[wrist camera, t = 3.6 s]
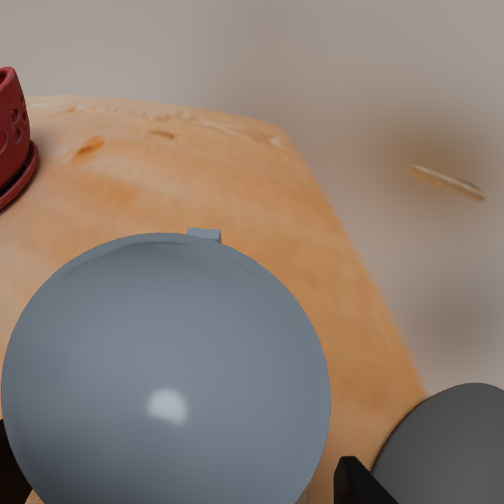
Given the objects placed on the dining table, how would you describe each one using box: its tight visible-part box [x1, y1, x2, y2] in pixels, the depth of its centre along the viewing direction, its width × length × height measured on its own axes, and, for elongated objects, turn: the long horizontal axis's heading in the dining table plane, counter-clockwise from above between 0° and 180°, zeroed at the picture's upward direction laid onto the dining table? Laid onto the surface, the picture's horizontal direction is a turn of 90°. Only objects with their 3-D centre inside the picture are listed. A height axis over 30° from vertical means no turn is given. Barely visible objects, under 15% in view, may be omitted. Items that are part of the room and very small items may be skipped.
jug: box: [1, 228, 331, 504], centre depth 11 cm, size 8×6×14 cm
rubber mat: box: [371, 383, 504, 504], centre depth 13 cm, size 14×14×1 cm
